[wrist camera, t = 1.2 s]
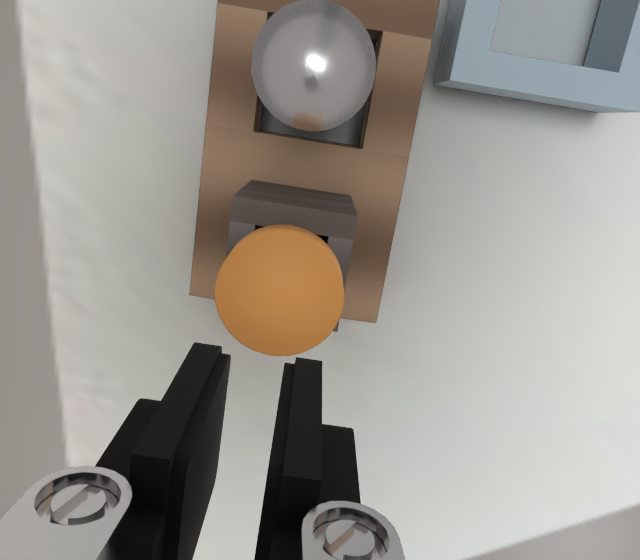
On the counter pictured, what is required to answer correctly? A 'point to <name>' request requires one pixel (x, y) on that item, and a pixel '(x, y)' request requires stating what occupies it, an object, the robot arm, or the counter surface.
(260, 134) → the socket block
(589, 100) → the blue-grey square frame
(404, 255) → the counter surface
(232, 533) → the counter surface
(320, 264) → the release button
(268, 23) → the grey smooth thick cylinder
